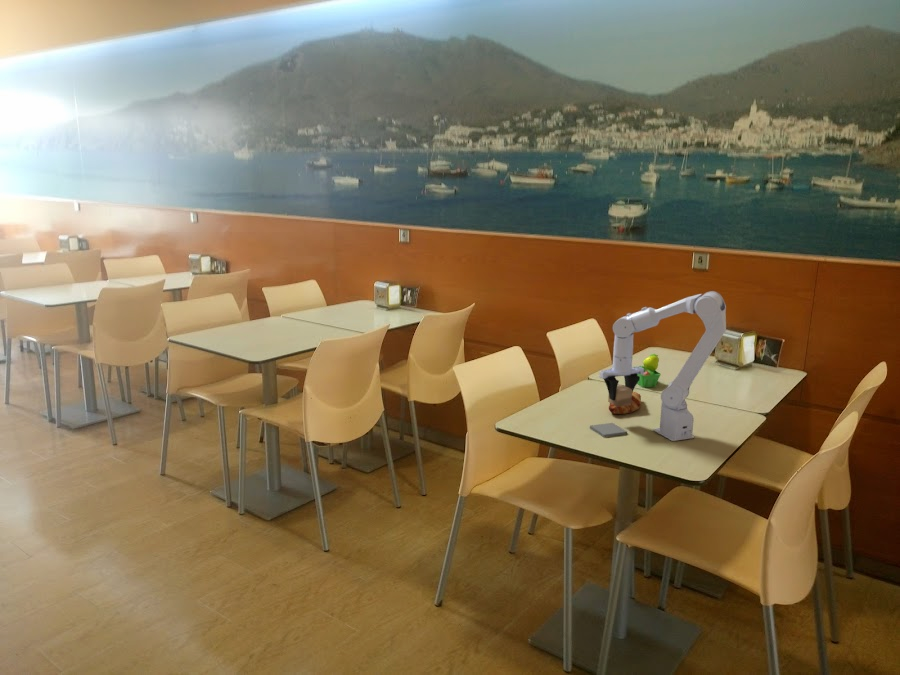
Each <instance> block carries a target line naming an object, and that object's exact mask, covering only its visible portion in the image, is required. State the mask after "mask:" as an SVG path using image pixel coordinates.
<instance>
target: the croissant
mask: <svg viewBox="0 0 900 675" xmlns="http://www.w3.org/2000/svg"><path fill="white" fill-rule="evenodd" d="M641 407H642V395H641V393H638V392H637V391H633V392H632V400H631V405H628V406H620V407H617V406H615V405H613V404H611V403H609V405H608V411H609V412H611V414H617V415H626V414H630V413H634V412H635V411H637V410H639V409H640V408H641Z"/></svg>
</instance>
